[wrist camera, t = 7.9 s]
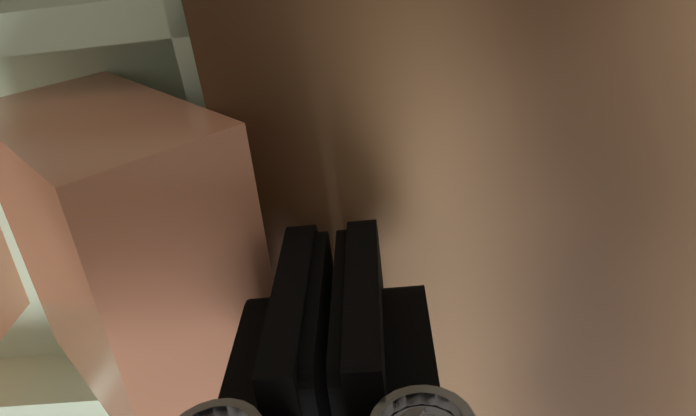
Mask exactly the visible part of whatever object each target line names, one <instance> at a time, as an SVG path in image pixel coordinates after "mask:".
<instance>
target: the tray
mask: <svg viewBox="0 0 696 416" xmlns="http://www.w3.org/2000/svg"><path fill="white" fill-rule="evenodd" d="M103 71H107V72H109V73H112V74H115V75H118V76H120V77H123V78H126V79H128V80H131V81H134V82H136V83H139V84H142V85H144V86H147V87H150V88H152V89H155V90H158V91H161V92H163V93H166V94H169V95H171V96H174V97H177V98H179V99H182V100H185V101H187V102H190V103H193V104H196V105H198V106H201V107H204V108H206V107H205V102H204V98H203V93H202V89H201V85H200V80H199V76H198V72H197V67H196V63H195V59H194V54H193V50H192V45H191V41H190V37H189V32H188V28H187V24H186V19H185V15H184V10H183V6H182V2H181V0H0V97H3V96H7V95H11V94H15V93H19V92H23V91H27V90H31V89H35V88H39V87H43V86H47V85H51V84H55V83H59V82H63V81H67V80H71V79H75V78H79V77H83V76H87V75H91V74H95V73H99V72H103ZM0 227H1V230H2V232H3V235H4V237H5V240H6V243H7V245H8V248H9V250H10V253H11V256H12V258H13V261H14V263H15V266H16V268H17V271H18V274H19V276H20V279H21V281H22V284H23V286H24V289H25V292H26V294H27V297H28V299H29V302H30V304H29V305H28V306H27V308H26V309H25V310H24V311H23V313H22V314H21V315H20V316H19V318H18V319H17V320H16V321H15V323H14V324H13V325H12V326H11V328H10V329H9V330H8V331H7V333H6V334H5V335H4V336H3V338H2V339H1V340H0V416H109V415H108V413H107V412H106V410H105V409H104V408H103V406H102V405H101V403H100V402H99V401H98V399H97V398H96V396H95V395H94V393H93V392H92V391H91V389H90V388H89V386H88V385H87V384H86V382H85V381H84V379H83V378H82V376H81V375H80V374H79V372H78V371H77V369H76V368H75V367H74V365H73V364H72V362H71V361H70V359H69V358H68V357H67V355H66V354H65V352H64V351H63V350H62V348H61V347H60V345H59V344H58V342H57V341H56V340H55V338H54V335H53V333H52V330H51V328H50V325H49V323H48V320H47V318H46V315H45V313H44V310H43V308H42V305H41V303H40V300H39V298H38V295H37V293H36V290H35V288H34V285H33V283H32V281H31V278H30V276H29V273H28V271H27V268H26V266H25V263H24V261H23V258H22V256H21V253H20V251H19V248H18V246H17V243H16V241H15V238H14V236H13V233H12V231H11V228H10V226H9V224H8V221H7V219H6V216H5V214H4V211H3V209H2V206H1V204H0Z"/></svg>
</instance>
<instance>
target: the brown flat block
mask: <svg viewBox="0 0 696 416" xmlns="http://www.w3.org/2000/svg"><path fill="white" fill-rule="evenodd" d="M181 2H182V6H183V10H184V15H185V19H186V24H187V28H188V32H189V37H190V41H191V45H192V50H193V54H194V59H195V63H196V67H197V72H198V76H199V80H200V85H201V89H202V93H203V98H204V102H205V107H206V109H209V110H212V111H214V112H217V113H220V114H222V115H225V116H228V117H230V118H233V119H236V120H239V121H241V122H244V123H245V126H246V132H247V137H248V143H249V148H250V154H251V159H252V165H253V170H254V176H255V181H256V187H257V192H258V198H259V203H260V209H261V214H262V220H263V225H264V231H265V236H266V242H267V247H268V253H269V258H270V264H271V269H272V275H273V281H274V278H275V273H276V269H277V264H278V260H279V256H280V251H281V247H282V242H283V238H284V234H285V229H286V227H294V226H305V225H316V226H317V229H318V232H324V231H328V234H329V239H330V245H331V252H332V259H333V266H334V254H335V241H336V231H337V230H347V222H351V221H362V220H373V219H376V220H377V228H378V237H379V247H380V257H381V266H382V276H383V286H384V288H393V287H405V286H418V285H424V287H425V292H426V299H427V305H428V312H429V318H430V324H431V331H432V337H433V344H434V350H435V357H436V363H437V370H438V376H439V382H440V387H442V388H445V389H447V390H449V391H452V392H454V393H456V394H457V395H459V396H460V397H461V398H462V399H464V400H465V401H466V402H467V403H468V404H469V406H470V407H471V409H472V410H473V412H474V413H475V415H476V416H696V0H181Z"/></svg>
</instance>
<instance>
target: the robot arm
mask: <svg viewBox="0 0 696 416" xmlns="http://www.w3.org/2000/svg"><path fill="white" fill-rule="evenodd" d="M180 416H476V415H475V413H474V412H473V410H472V409H471V407H470V406H469V404H468V403H467V402H466V401H465V400H464V399H462V398H461V397H460V396H459V395H457V394H456V393H454V392H452V391H449V390H447V389H445V388H442V387H440V382H439V376H438V370H437V363H436V357H435V350H434V344H433V337H432V331H431V324H430V318H429V312H428V305H427V299H426V292H425V287H424V285H418V286H405V287H393V288H384V286H383V276H382V266H381V257H380V247H379V237H378V228H377V220H376V219H373V220H362V221H351V222H347V230H337V231H336V241H335V254H334V266H333V259H332V252H331V245H330V239H329V234H328V231H324V232H318V229H317V226H316V225H305V226H294V227H286V229H285V234H284V238H283V242H282V247H281V251H280V256H279V260H278V264H277V269H276V273H275V278H274V282H273V286H272V291H271V295H270V297H267V298H255V299H248V300H247V301H246V303H245V305H244V308H243V312H242V315H241V319H240V322H239V326H238V329H237V333H236V336H235V340H234V343H233V347H232V350H231V354H230V357H229V361H228V364H227V368H226V371H225V375H224V379H223V382H222V386H221V389H220V393H219V396H218V399H213V400H209V401H206V402H203V403H199V404H197V405H196V406H194V407H192V408H190V409H188V410H186V411H184V412H183V413H182V414H181V415H180Z"/></svg>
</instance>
